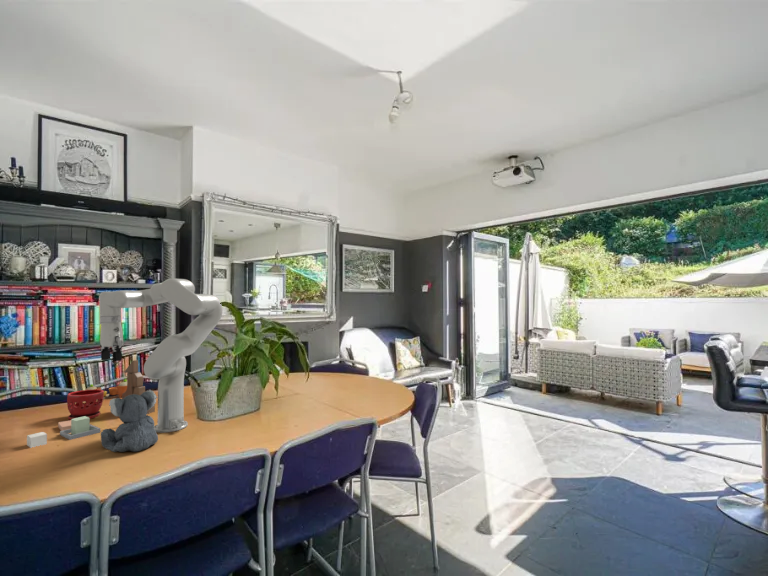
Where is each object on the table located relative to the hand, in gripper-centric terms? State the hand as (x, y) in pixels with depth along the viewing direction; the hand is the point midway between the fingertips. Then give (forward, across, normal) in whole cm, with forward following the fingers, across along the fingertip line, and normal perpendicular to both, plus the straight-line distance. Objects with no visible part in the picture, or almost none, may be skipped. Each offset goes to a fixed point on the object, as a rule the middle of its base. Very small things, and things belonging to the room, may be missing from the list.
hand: (111, 360), depth 163 cm
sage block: (+27, -1, +12) cm, 30 cm away
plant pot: (+28, +23, +1) cm, 36 cm away
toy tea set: (+27, +57, -25) cm, 68 cm away
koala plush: (+29, -32, +7) cm, 44 cm away
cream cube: (+28, -1, +25) cm, 38 cm away
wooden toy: (+28, +12, -16) cm, 34 cm away
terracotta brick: (+28, +11, +12) cm, 32 cm away
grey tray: (+28, -1, +12) cm, 30 cm away
